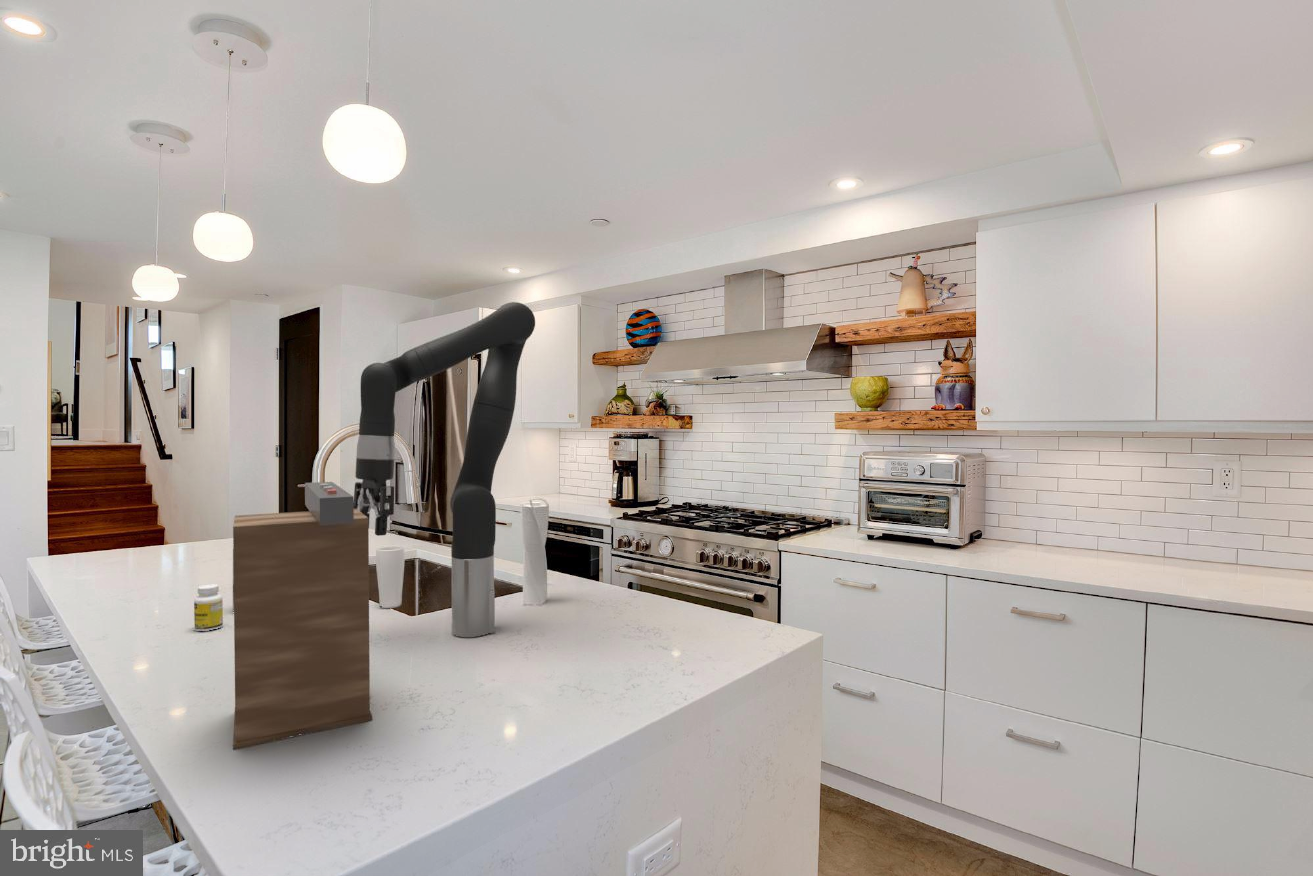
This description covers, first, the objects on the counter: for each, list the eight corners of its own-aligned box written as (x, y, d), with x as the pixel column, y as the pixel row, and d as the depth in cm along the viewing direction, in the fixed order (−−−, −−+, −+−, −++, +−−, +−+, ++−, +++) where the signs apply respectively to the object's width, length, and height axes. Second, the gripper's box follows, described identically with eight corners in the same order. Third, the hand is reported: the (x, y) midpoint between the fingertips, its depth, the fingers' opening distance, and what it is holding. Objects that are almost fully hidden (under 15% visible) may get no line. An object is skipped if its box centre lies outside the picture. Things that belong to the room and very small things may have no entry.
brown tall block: (234, 712, 109) (232, 515, 108) (359, 689, 119) (357, 508, 118) (233, 749, 96) (230, 527, 96) (372, 720, 106) (370, 518, 106)
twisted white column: (546, 607, 172) (546, 498, 172) (517, 606, 172) (517, 497, 172) (551, 599, 180) (551, 494, 180) (523, 598, 180) (523, 494, 180)
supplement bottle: (188, 630, 152) (188, 587, 152) (212, 624, 157) (212, 582, 157) (204, 633, 150) (204, 590, 150) (228, 626, 155) (227, 584, 155)
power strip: (305, 504, 123) (304, 480, 123) (332, 503, 126) (332, 479, 125) (319, 525, 98) (319, 494, 97) (353, 523, 100) (353, 493, 100)
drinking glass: (377, 611, 168) (377, 551, 168) (375, 604, 174) (374, 547, 174) (406, 607, 171) (405, 549, 171) (402, 601, 177) (402, 544, 177)
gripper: (408, 458, 142) (404, 535, 141) (378, 456, 151) (374, 528, 151) (372, 458, 136) (368, 538, 136) (343, 455, 146) (340, 530, 146)
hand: (371, 532), depth 144 cm, fingers open, 8 cm apart
